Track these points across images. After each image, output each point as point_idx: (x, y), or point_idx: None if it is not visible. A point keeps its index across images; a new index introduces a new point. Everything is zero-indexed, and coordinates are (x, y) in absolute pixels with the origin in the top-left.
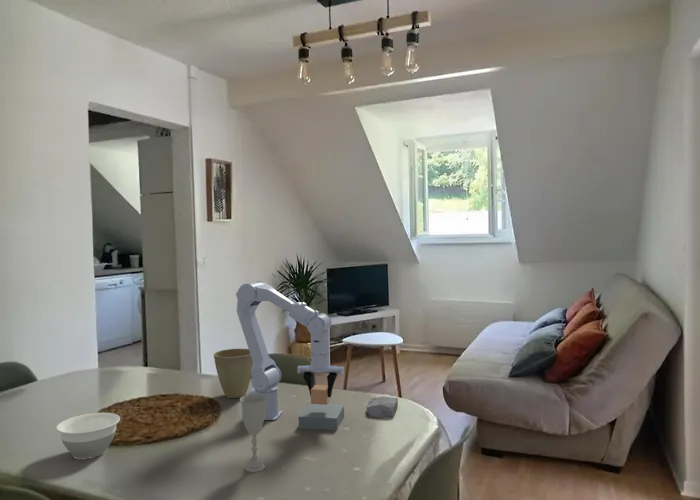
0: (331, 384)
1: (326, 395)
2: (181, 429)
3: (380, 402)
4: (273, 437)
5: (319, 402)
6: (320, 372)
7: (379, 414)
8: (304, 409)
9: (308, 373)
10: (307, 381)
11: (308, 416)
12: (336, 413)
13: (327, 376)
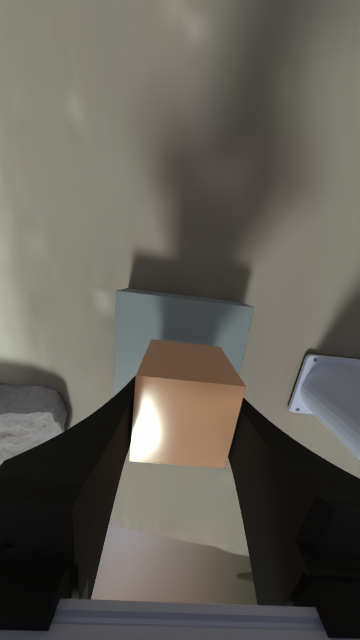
0: (87, 420)
1: (144, 357)
2: None
3: (5, 436)
4: (311, 226)
5: (184, 345)
6: (191, 624)
7: (23, 389)
8: (237, 372)
9: (353, 591)
10: (302, 453)
11: (219, 308)
12: (125, 338)
13: (64, 503)
